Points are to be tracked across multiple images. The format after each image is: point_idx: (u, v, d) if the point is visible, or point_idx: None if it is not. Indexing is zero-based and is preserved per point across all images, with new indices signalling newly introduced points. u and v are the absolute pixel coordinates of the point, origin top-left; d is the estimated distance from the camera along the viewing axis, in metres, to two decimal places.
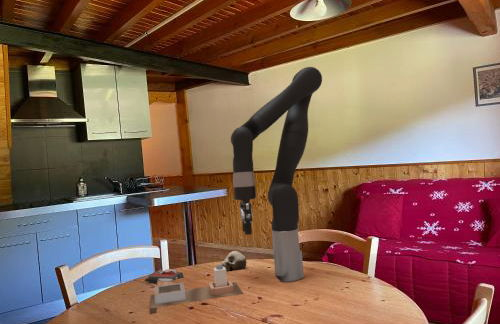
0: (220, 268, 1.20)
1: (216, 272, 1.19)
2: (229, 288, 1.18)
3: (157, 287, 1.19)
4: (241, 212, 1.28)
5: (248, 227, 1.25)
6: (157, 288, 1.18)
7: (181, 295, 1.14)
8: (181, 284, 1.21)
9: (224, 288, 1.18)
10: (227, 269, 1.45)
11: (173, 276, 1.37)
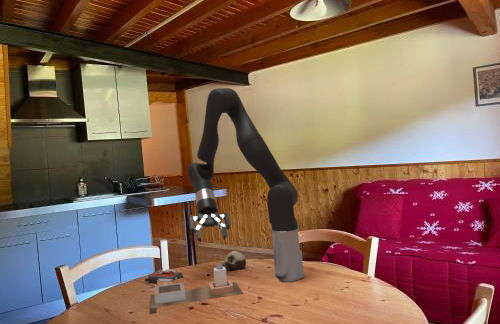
0: (220, 268, 1.20)
1: (216, 272, 1.19)
2: (229, 288, 1.18)
3: (157, 287, 1.19)
4: None
5: (196, 235, 1.32)
6: (157, 288, 1.18)
7: (181, 295, 1.14)
8: (181, 284, 1.21)
9: (224, 288, 1.18)
10: (227, 269, 1.45)
11: (173, 276, 1.37)
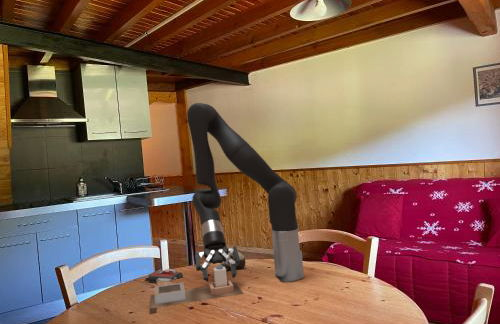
0: (220, 268, 1.20)
1: (216, 272, 1.19)
2: (229, 288, 1.18)
3: (157, 287, 1.19)
4: None
5: None
6: (157, 288, 1.18)
7: (181, 295, 1.14)
8: (181, 284, 1.21)
9: (224, 288, 1.18)
10: (226, 268, 1.46)
11: (172, 276, 1.37)
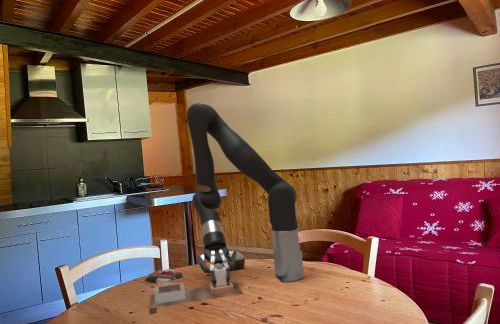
0: (220, 268, 1.20)
1: (216, 272, 1.19)
2: (229, 288, 1.18)
3: (157, 287, 1.19)
4: None
5: None
6: (157, 288, 1.18)
7: (181, 295, 1.14)
8: (181, 284, 1.21)
9: (224, 288, 1.18)
10: None
11: (171, 276, 1.37)
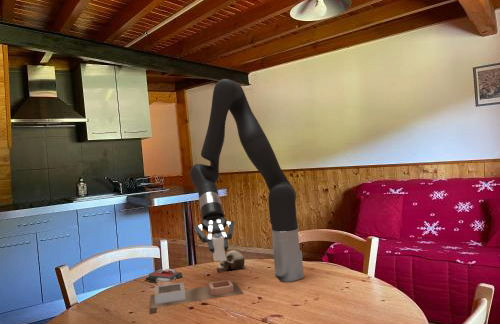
0: (218, 237, 1.20)
1: (214, 240, 1.19)
2: (229, 288, 1.18)
3: (157, 287, 1.19)
4: None
5: (208, 245, 1.20)
6: (157, 288, 1.18)
7: (181, 295, 1.14)
8: (181, 284, 1.21)
9: (224, 288, 1.18)
10: (225, 268, 1.47)
11: (171, 276, 1.37)
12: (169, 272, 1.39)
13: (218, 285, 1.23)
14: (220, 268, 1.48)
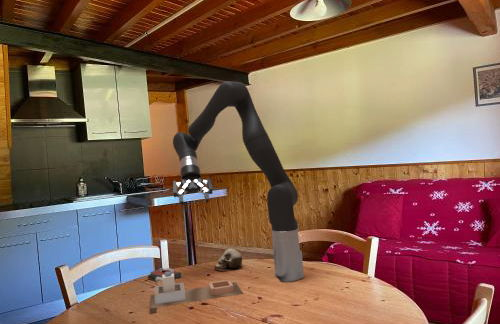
0: (168, 275, 1.16)
1: (164, 279, 1.15)
2: (229, 288, 1.18)
3: (157, 287, 1.19)
4: (187, 191, 1.41)
5: (179, 199, 1.35)
6: (157, 288, 1.18)
7: (181, 295, 1.14)
8: (181, 284, 1.21)
9: (224, 288, 1.18)
10: (223, 266, 1.49)
11: None
12: None
13: (218, 285, 1.23)
14: (218, 266, 1.51)
